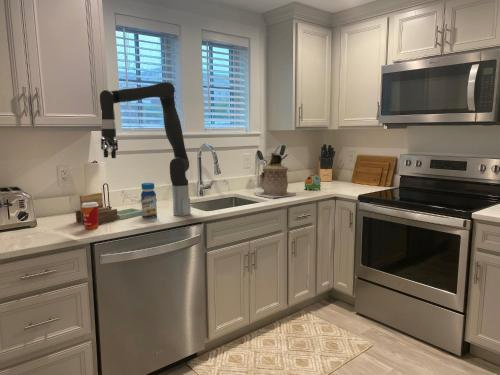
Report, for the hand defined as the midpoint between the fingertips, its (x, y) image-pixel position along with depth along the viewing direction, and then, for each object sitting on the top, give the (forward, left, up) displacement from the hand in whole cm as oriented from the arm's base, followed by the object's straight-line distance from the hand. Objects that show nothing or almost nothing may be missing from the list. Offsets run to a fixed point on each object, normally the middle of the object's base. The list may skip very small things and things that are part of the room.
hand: (109, 157), depth 207 cm
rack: (-5, +13, -34) cm, 37 cm away
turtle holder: (-45, -152, -34) cm, 162 cm away
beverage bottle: (-19, -10, -34) cm, 40 cm away
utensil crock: (-34, -112, -34) cm, 122 cm away
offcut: (-6, +13, -32) cm, 35 cm away
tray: (-7, -4, -34) cm, 35 cm away
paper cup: (-17, +23, -34) cm, 45 cm away
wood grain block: (-1, +13, -32) cm, 35 cm away
